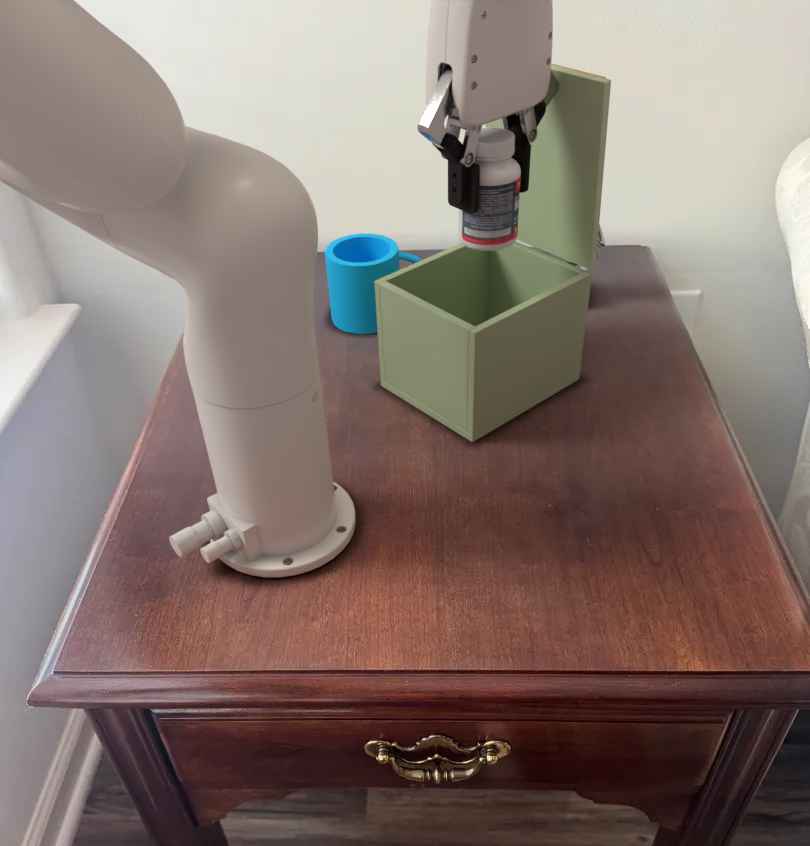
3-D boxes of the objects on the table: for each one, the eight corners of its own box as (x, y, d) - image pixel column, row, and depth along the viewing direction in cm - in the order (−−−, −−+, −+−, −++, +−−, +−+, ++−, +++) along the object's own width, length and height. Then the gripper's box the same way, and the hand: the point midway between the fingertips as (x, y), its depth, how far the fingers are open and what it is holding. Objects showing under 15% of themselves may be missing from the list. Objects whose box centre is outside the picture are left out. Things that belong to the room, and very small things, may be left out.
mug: (332, 336, 97) (325, 268, 91) (330, 301, 103) (324, 236, 97) (437, 328, 97) (437, 260, 92) (429, 294, 103) (428, 228, 98)
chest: (472, 442, 82) (475, 333, 73) (380, 386, 89) (374, 280, 81) (579, 379, 89) (592, 273, 81) (485, 331, 96) (489, 230, 88)
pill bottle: (524, 248, 75) (531, 143, 69) (466, 255, 74) (468, 150, 68) (507, 223, 79) (512, 121, 72) (452, 230, 78) (452, 128, 72)
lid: (605, 82, 68) (647, 63, 71) (484, 51, 76) (525, 35, 78) (590, 270, 80) (626, 248, 82) (486, 227, 88) (523, 208, 90)
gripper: (538, -76, 67) (524, 160, 80) (371, -40, 60) (385, 215, 72) (613, -66, 63) (586, 181, 76) (444, -26, 55) (445, 243, 68)
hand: (488, 196), depth 74 cm, fingers closed on pill bottle, 5 cm apart
